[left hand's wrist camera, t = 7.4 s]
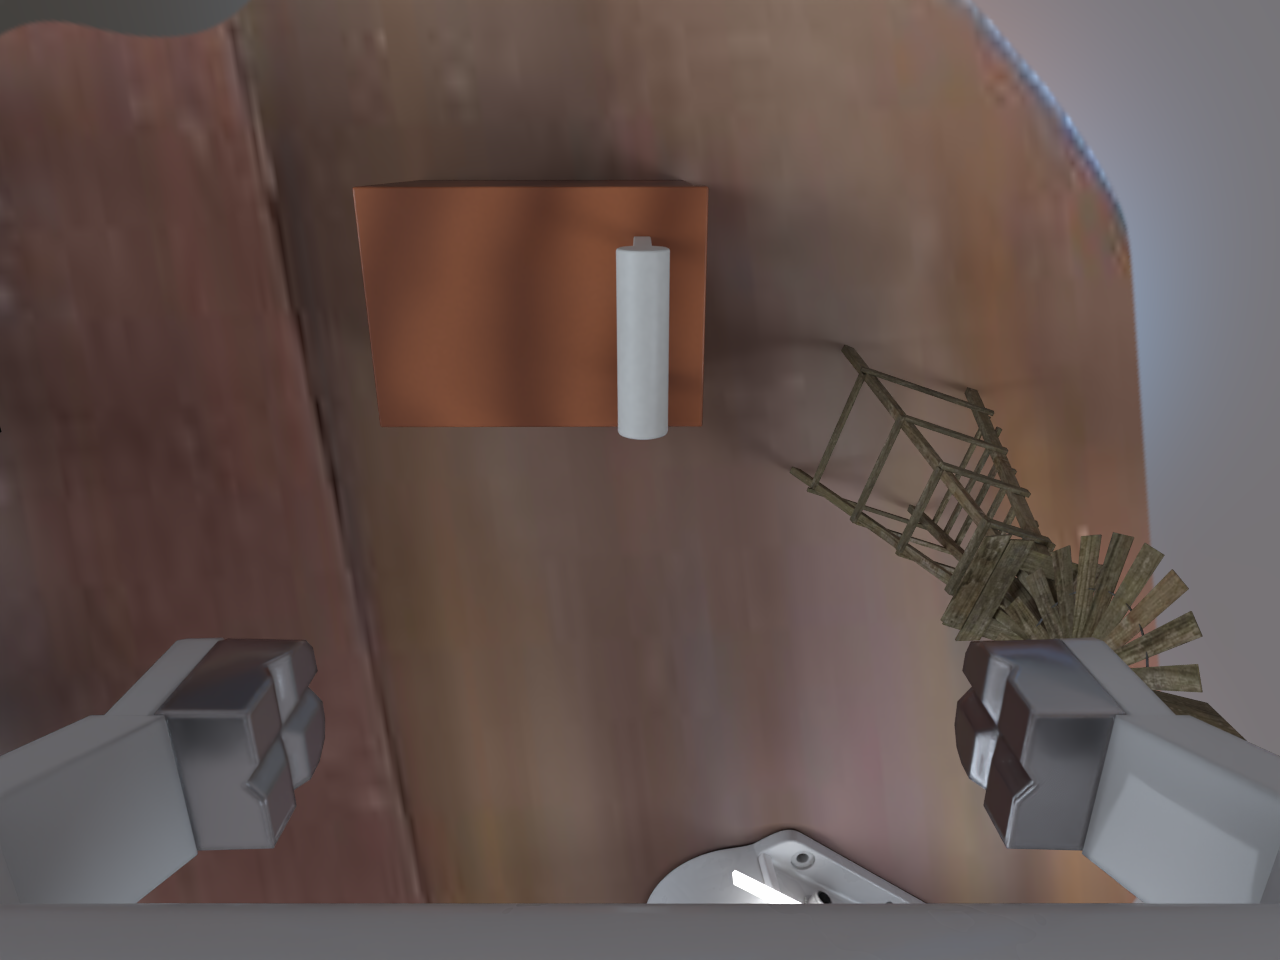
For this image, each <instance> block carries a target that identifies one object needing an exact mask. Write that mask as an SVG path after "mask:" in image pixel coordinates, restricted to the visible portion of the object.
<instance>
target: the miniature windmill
mask: <svg viewBox="0 0 1280 960" xmlns="http://www.w3.org/2000/svg"><path fill="white" fill-rule="evenodd" d="M841 351H842V352H843V354H844V355H845V356H846V357H847V359H848V360H849V361H850V363H851V364H852V365H853V367H854V368H855V369H856V370H857V372H858V373H859V375H858V378H857V380H856V382H855V385H854V387H853V389H852V391H851V394H850V396H849V398H848V400H847V403H846V405H845V407H844V410H843V412H842V414H841V416H840V419H839V421H838V423H837V426H836V428H835V430H834V432H833V435H832V437H831V439H830V441H829V444H828V446H827V448H826V451H825V453H824V455H823V457H822V460H821V462H820V464H819V466H818V469H817V471H816V473H815V476H814V478H812V477H811V476H809V475H808V474H806V473H805V472H804V471H802V470H801V469H798V468H795V467H792V468H791V471H790V473H791V474H792V475H794V476H795V477H797V478H798V479H799V480H801V481H802V482H804V483H805V484H806V485H808V486H809V487H811V488H809V487H808V489H807V492H810V493H813V494H816V495H819V496H823V497H825V498H826V499H827V500H829V501H830V502H832V503H833V504H834V505H836V506H837V507H839V508H840V509H841V510H843V511H844V512H846V513H847V514H848V515H850V516H851V518H850V520H851V522H852V523H855V524H856V525H860V526H863V527H866V528H868V529H869V530H871V531H872V532H874V533H875V534H877V535H878V536H879V537H881V538H882V539H884V540H885V541H886V542H888V543H889V544H891V545H892V546H893V547H895V549H896V550H897V551H896V553H895V554H897V555H898V556H900V557H903V558H906V559H909V560H912V561H914V562H916V563H917V564H919V565H920V566H921V567H923V568H924V569H926V570H927V571H928V572H930V573H931V574H933V575H934V576H935V577H937V578H938V579H940V580H941V581H942V582H944V583H945V584H947V585H946V587H945V589H944V590H945V591H946V592H947V593H948V594H949V595H954V596H953V598H952V599H951V601H950V603H949V605H948V607H947V609H946V611H945V613H944V615H943V616H942V618H941V621H942V622H943V625H946V626H949V627H953V628H956V629H959V630H960V631H959V633H958V635H957V637H956V639H955V640H956V641H973V640H980V639H981V637H985V638H988V639H992V640H995V641H998V640H1038V639H1068V638H1096V639H1099V640H1101V641H1104V642H1105V643H1106V644H1107V645H1108V646H1109V647H1110V648H1111V649H1112V650H1113V651H1114V652H1115V653H1116V654H1117V655H1118V656H1119V657H1120V658H1121V659H1122V660H1123V661H1124V662H1125V663H1126V664H1127V665H1131V664H1133V663H1136V662H1138V661H1141V660H1144V659H1146V667H1143V668H1130V669H1131V670H1132V671H1133V672H1134V673H1135V674H1136V675H1137V676H1138V677H1139V678H1140V679H1141V680H1142V681H1143V682H1144V683H1145V684H1146V685H1147V686H1148V687H1149V688H1150V689H1151V690H1152V691H1153V692H1154V693H1155V694H1156V695H1157V696H1158V697H1159V698H1160V699H1161V700H1162V701H1163V702H1164V703H1165V704H1166V705H1167V707H1168V708H1169V709H1170V710H1171V711H1172V712H1173V713H1174V714H1175V715H1190V716H1192V717H1194V718H1197V719H1199V720H1201V721H1203V722H1205V723H1208V724H1210V725H1212V726H1214V727H1217V728H1219V729H1221V730H1223V731H1225V732H1228V733H1230V734H1232V735H1234V736H1236V737H1239V738H1241V739H1243V740H1245V739H1244V738H1243V737H1242V736H1241V735H1240V734H1239V733H1238V732H1237V731H1236V730H1235V729H1234V728H1233V727H1232V726H1231V725H1230V724H1229V723H1228V722H1227V721H1226V720H1225V719H1224V718H1222V717H1221V716H1220V715H1219V714H1218V713H1217V712H1216V711H1215V710H1214V709H1213V708H1212V707H1211V706H1210V705H1209V704H1208V703H1205V702H1201V701H1197V700H1193V699H1189V698H1185V697H1181V696H1177V695H1172V694H1168V693H1164V692H1160V691H1156V690H1167V691H1186V692H1202V686H1201V679H1200V673H1199V667H1198V664H1191V665H1175V666H1159V667H1149V664H1148V658H1149V657H1151V656H1154V655H1156V654H1159V653H1161V652H1164V651H1167V650H1169V649H1172V648H1174V647H1177V646H1179V645H1182V644H1184V643H1187V642H1190V641H1192V640H1195V639H1197V638H1200V637H1202V634H1201V631H1200V629H1199V627H1198V624H1197V622H1196V620H1195V617H1194V615H1193V613H1192V611H1190V612H1188V613H1186V614H1184V615H1182V616H1180V617H1178V618H1176V619H1174V620H1172V621H1170V622H1168V623H1167V624H1165V625H1163V626H1161V627H1159V628H1157V629H1155V630H1153V631H1151V632H1149V633H1147V634H1145V635H1144V633H1143V628H1144V627H1146V626H1147V625H1148V624H1149V623H1150V622H1151V621H1152V620H1154V619H1155V618H1156V617H1157V616H1158V615H1159V614H1160V613H1162V612H1163V611H1164V610H1165V609H1166V608H1167V607H1168V606H1170V605H1171V604H1172V603H1173V602H1174V601H1175V600H1177V599H1178V598H1179V597H1180V596H1181V595H1182V594H1184V593H1185V592H1186V591H1187V590H1188V589H1189V588H1188V587H1187V586H1186V585H1185V583H1184V582H1183V581H1182V580H1181V579H1180V577H1179V576H1178V575H1177V574H1176V573H1175V571H1174V570H1173V569H1172V570H1171V571H1170V572H1169V573H1168V574H1167V575H1166V576H1165V577H1164V578H1163V579H1162V580H1161V581H1160V582H1159V583H1158V584H1157V585H1156V586H1155V587H1154V588H1153V589H1152V590H1151V591H1150V592H1149V593H1148V594H1147V595H1146V596H1145V597H1144V598H1143V599H1142V600H1141V602H1140V603H1139V604H1138V605H1137V606H1136V607H1135V608H1134V609H1133V610H1132V609H1131V605H1132V604H1133V602H1134V601H1135V599H1136V598H1137V596H1138V595H1139V593H1140V592H1141V590H1142V589H1143V587H1144V586H1145V584H1146V583H1147V581H1148V579H1149V578H1150V576H1151V575H1152V573H1153V572H1154V570H1155V569H1156V567H1157V566H1158V564H1159V563H1160V561H1161V560H1162V558H1163V557H1164V554H1162V553H1160V552H1159V551H1157V550H1156V549H1154V548H1153V547H1151V546H1149V545H1148V544H1146V543H1144V545H1143V547H1142V548H1141V550H1140V552H1139V554H1138V555H1137V557H1136V559H1135V561H1134V562H1133V564H1132V566H1131V568H1130V569H1129V571H1128V573H1127V575H1126V576H1125V578H1124V580H1123V582H1122V583H1121V585H1120V587H1119V589H1118V590H1117V592H1116V594H1114V590H1115V588H1116V585H1117V582H1118V580H1119V577H1120V574H1121V572H1122V569H1123V566H1124V563H1125V561H1126V558H1127V555H1128V553H1129V550H1130V547H1131V545H1132V542H1133V539H1134V537H1131V536H1127V535H1122V534H1118V533H1114V532H1113V534H1112V538H1111V541H1110V544H1109V547H1108V551H1107V554H1106V557H1105V560H1104V564H1103V565H1100V564H1098V557H1099V550H1100V543H1101V536H1102V535H1090V536H1081V543H1080V554H1079V564H1075V563H1072V560H1071V548H1070V545H1069V546H1066V547H1064V548H1061V549H1059V550H1056V551H1054V552H1052V551H1053V550H1054V548H1055V546H1056V545H1055V544H1054V543H1052V542H1051V540H1050V539H1049V538H1048V537H1045V536H1042V535H1041V533H1040V531H1039V529H1038V527H1039V525H1038V522H1037V521H1035V520H1034V518H1033V515H1032V513H1031V511H1030V509H1029V506H1028V504H1027V502H1026V499H1025V497H1028V498H1029V496H1030V495H1031V493H1030V492H1029V491H1028V490H1027V489H1024V488H1021V487H1020V486H1019V484H1018V481H1017V479H1016V477H1015V474H1016V472H1017V471H1016V470H1015V469H1013V468H1011V466H1010V463H1009V461H1008V459H1007V457H1006V454H1007V453H1008V449H1007V448H1005V447H1002V445H1001V443H1000V441H999V438H998V437H999V435H1000V433H1001V431H1002V429H1001V428H999V427H996V429H994V427H993V425H992V423H991V420H990V418H991V417H989V416H988V415H991V416H993V414H994V411H993V410H990V409H987V408H985V407H984V404H983V402H982V400H981V398H980V395H979V393H978V391H977V390H974V389H971V388H968V387H967V389H966V391H965V396H966V398H967V400H968V402H966V401H963V400H960V399H958V398H955V397H952V396H949V395H946V394H943V393H940V392H937V391H934V390H931V389H928V388H925V387H922V386H919V385H917V384H914V383H911V382H908V381H905V380H902V379H899V378H896V377H893V376H890V375H887V374H884V373H881V372H878V371H876V370H873V369H870V368H869V367H868V366H867V365H866V363H865V362H864V361H863V360H862V358H861V357H860V356H859V354H858V353H857V352H856V351H855V349H854V348H852V347H849V346H847V345H844V347H843V349H842V350H841ZM877 377H879V378H882V379H885V380H888V381H891V382H894V383H897V384H900V385H903V386H906V387H908V388H911V389H914V390H917V391H920V392H923V393H926V394H929V395H932V396H935V397H938V398H941V399H944V400H947V401H950V402H953V403H955V404H958V405H961V406H964V407H967V408H970V409H971V410H972V412H973V415H974V417H975V420H976V422H977V424H978V427H979V429H978V431H977V433H976V435H975V437H974V438H973V437H970V436H967V435H964V434H962V433H959V432H956V431H953V430H950V429H947V428H944V427H941V426H938V425H935V424H932V423H929V422H926V421H923V420H920V419H917V418H914V417H911V416H908V415H906V414H905V413H904V411H903V410H902V409H901V408H900V406H899V405H898V404H897V402H896V401H895V400H894V399H893V397H892V396H891V395H890V394H889V392H888V391H887V390H886V389H885V387H884V386H883V385H882V384H881V382H880V381H879V380H878V378H877ZM863 381H865V382H866V383H867V385H868V386H869V387H870V388H871V390H872V391H873V392H874V394H875V395H876V396H877V397H878V399H879V400H880V401H881V403H882V404H883V405H884V406H885V408H886V409H887V410H888V412H889V413H890V414H891V415H892V417H893V418H894V419H895V423H894V425H893V427H892V430H891V432H890V434H889V436H888V438H887V440H886V443H885V445H884V447H883V449H882V451H881V453H880V455H879V458H878V460H877V462H876V464H875V466H874V468H873V471H872V473H871V475H870V477H869V479H868V481H867V483H866V486H865V488H864V490H863V492H862V494H861V496H860V498H859V501H858V503H856V502H853V501H850V500H846V499H843V498H841V497H840V496H838V495H837V494H836V493H834V492H833V491H831V490H830V489H828V488H827V487H825V486H824V485H822V484H821V483H820V482H819V481H820V479H821V476H822V474H823V472H824V470H825V467H826V465H827V463H828V460H829V458H830V456H831V454H832V451H833V449H834V447H835V445H836V442H837V440H838V438H839V436H840V433H841V431H842V429H843V427H844V424H845V422H846V420H847V418H848V415H849V413H850V411H851V409H852V406H853V404H854V402H855V400H856V397H857V395H858V393H859V390H860V388H861V386H862V384H863ZM914 424H915V425H918V426H921V427H924V428H927V429H930V430H933V431H936V432H939V433H942V434H945V435H948V436H951V437H954V438H957V439H960V440H963V441H966V442H969V443H971V445H970V447H969V449H968V451H967V453H966V455H965V457H964V459H963V461H962V463H961V465H960V467H957V466H954V465H951V464H948V463H945V462H943V461H942V459H941V458H940V457H939V455H938V454H937V453H936V452H935V450H934V449H933V448H932V447H931V445H930V444H929V443H928V442H927V440H926V439H925V438H924V437H923V435H922V434H921V433H920V431H919V430H918V429H917V428H916V426H915V425H914ZM901 428H902V430H903V431H904V432H905V433H906V435H907V436H908V437H909V439H910V440H911V441H912V443H913V444H914V445H915V446H916V448H917V449H918V450H919V452H920V453H921V454H922V455H923V457H924V458H925V459H926V461H927V462H928V463H929V464H930V466H931V467H932V468H933V470H934V471H933V473H932V475H931V477H930V479H929V481H928V483H927V485H926V487H925V489H924V491H923V493H922V495H921V497H920V499H919V501H918V503H917V505H916V507H915V506H912V505H909V508H908V510H907V511H908V512H909V513H910V514H911V518H910V520H909V519H906V518H903V517H899V516H896V515H893V514H890V513H887V512H884V511H881V510H878V509H874V508H871V507H868V506H865V504H866V502H867V499H868V497H869V495H870V493H871V491H872V489H873V487H874V484H875V482H876V480H877V478H878V476H879V474H880V472H881V470H882V467H883V465H884V463H885V461H886V459H887V457H888V455H889V453H890V450H891V448H892V446H893V444H894V442H895V440H896V438H897V435H898V433H899V431H900V429H901ZM981 436H983V439H984V441H982V440H980V438H981ZM977 445H978V446H981V447H984V448H986V449H985V451H984V453H983V455H982V457H981V458H980V460H979V462H978V464H977V466H976V468H975V470H974V472H972V471H969V470H966V469H965V467H966V465H967V463H968V461H969V459H970V457H971V455H972V453H973V451H974V449H975V448H976V446H977ZM989 454H990V455H991V458H992V460H993V463H994V465H993V467H992V469H991V470H990V472H989V474H988V476H984V475H981V474H980V472H981V470H982V468H983V466H984V464H985V462H986V460H987V458H988V456H989ZM997 472H998V475H999V477H1000V479H1001V481H999V480H996V479H994V477H995V475H996V473H997ZM953 473H955V474H956V475H955V476H954V474H953ZM961 476H964V477H967V478H970V480H969V482H968V484H967V486H966V488H964V487H963V486H962V485H961V483H960V482H959V479H960V477H961ZM940 479H941V480H942V481H943V482H944V484H945V485H946V486H947V488H948V490H947V492H946V494H945V496H944V498H943V500H942V502H941V504H940V506H939V508H938V510H937V512H936V514H935V516H934V518H933V520H932V519H930V518H929V517H928V516H927V515H926V514H925V513H924V510H925V508H926V506H927V504H928V502H929V500H930V498H931V496H932V494H933V492H934V490H935V488H936V486H937V484H938V482H939V480H940ZM976 480H977V481H980V482H983V483H984V484H983V486H982V488H981V490H980V492H979V494H978V496H977V498H976V500H975V501H974V500H973V498H972V497H971V496H970V495H969V493H970V491H971V489H972V487H973V486H974V484H975V482H976ZM990 485H992V486H995V487H998V488H1000V490H999V492H998V494H997V496H996V498H995V500H994V501H993V503H992V505H991V507H990V509H989V511H988V513H987V515H985V514H984V512H983V511H982V510H981V509H980V505H981V503H982V501H983V499H984V497H985V495H986V493H987V491H988V489H989V487H990ZM952 494H953V495H954V497H955V498H956V499H957V500H958V503H957V505H956V507H955V509H954V511H953V513H952V515H951V517H950V519H949V521H948V523H947V525H946V527H945V529H944V531H943V530H942V529H941V528H940V527H939V526H938V525H937V523H938V521H939V519H940V517H941V515H942V513H943V511H944V509H945V507H946V505H947V503H948V501H949V499H950V497H951V495H952ZM1005 494H1007V496H1008V498H1009V501H1010V503H1011V508H1010V510H1009V512H1008V514H1007V516H1006V518H1005V520H1004V522H1003V523H1002V522H999V521H996V520H993V517H994V515H995V513H996V511H997V509H998V507H999V505H1000V503H1001V501H1002V499H1003V497H1004V496H1005ZM962 507H963V508H964V509H965V511H966V512H967V513H968V516H967V518H966V520H965V522H964V524H963V526H962V528H961V530H960V532H959V534H958V536H957V538H956V540H955V541H954V540H953V539H952V538H951V537H950V536H948V534H949V532H950V530H951V528H952V526H953V524H954V522H955V521H956V519H957V517H958V515H959V513H960V511H961V509H962ZM862 510H866V511H869V512H873V513H876V514H879V515H882V516H885V517H888V518H891V519H894V520H898V521H901V522H904V523H907V526H906V528H905V530H904V532H903V534H902V533H898V532H895V531H892V530H889V529H886V528H885V527H883V526H882V525H881V524H879V523H878V522H876V521H875V520H873V519H872V518H870V517H869V516H867V515H866V514H865V513H863V512H862ZM1015 516H1016V518H1017V520H1018V522H1019V525H1020V527H1021V528H1018V527H1015V526H1011V523H1012V521H1013V519H1014V517H1015ZM972 520H973V521H974V522H975V524H976V525H977V526H978V527H977V528H976V530H975V532H974V534H973V536H972V538H971V540H970V542H969V544H968V546H967V547H966V549H965V551H964V550H963V549H962V548H961V547H960V544H961V542H962V540H963V538H964V536H965V534H966V532H967V530H968V528H969V526H970V524H971V522H972ZM918 522H919V523H918ZM916 527H919V528H923V529H926V530H928V531H929V532H930V533H931V534H932V535H933V536H934V537H935V538H936V539H937V540H938V541H939V543H941V544H942V545H943V546H944V547H942V546H939V545H936V544H933V543H930V542H927V541H924V540H920V539H917V538H914V537H911V536H912V534H913V532H914V530H915V528H916ZM998 530H999V531H998ZM1006 533H1009V534H1006ZM1011 534H1012V535H1015V536H1018V537H1021V538H1022V540H1021V539H1010V538H1011V536H1012V535H1011ZM982 540H983V541H982ZM909 541H910V542H913V543H916V544H919V545H923V546H926V547H929V548H932V549H935V550H938V551H941V552H945V553H948V554H951V555H953V556H954V557H955V558H956V559H957V560H958V561H959V563H958V565H957V566H956V568H954V567H951V566H948V565H944V564H941V563H938V562H935V561H933V560H931V559H930V558H928V557H927V556H926V555H924V554H923V553H921V552H920V551H918V550H917V549H915V548H914V547H913V546H911V545H910V544H908V542H909ZM981 542H982V543H981ZM980 544H981V545H980ZM979 546H980V547H979ZM978 548H979V549H978ZM977 550H978V551H977ZM976 552H977V553H976ZM1051 554H1052V556H1051ZM974 555H975V556H974ZM973 557H974V558H973ZM966 570H967V571H966ZM952 573H953V574H952ZM1015 576H1017V578H1016V577H1015ZM962 578H963V579H962ZM1094 591H1095V593H1094V596H1093V592H1094ZM1113 595H1114V597H1113V599H1112V601H1111V598H1112V596H1113ZM1110 601H1111V603H1110ZM1128 610H1130V611H1131V612H1130V613H1129V614H1128V615H1127V616H1126V617H1125V618H1124V619H1123V617H1124V616H1125V614H1126V613H1127V611H1128ZM1122 619H1123V620H1122ZM1121 620H1122V621H1121ZM1140 631H1141V634H1142V636H1141V637H1139V638H1137V639H1135V640H1133V641H1132V642H1130V643H1128V644H1126V643H1127V642H1128V641H1129V640H1131V639H1132V638H1133V637H1134V636H1135V635H1136V634H1137V633H1139V632H1140ZM1125 644H1126V645H1125ZM1245 741H1246V740H1245Z"/></svg>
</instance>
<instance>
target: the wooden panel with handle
mask: <svg viewBox="0 0 1280 960" xmlns="http://www.w3.org/2000/svg"><path fill="white" fill-rule="evenodd" d="M708 193H709V188H708V187H707V186H359V187H353V198H354V206H355V215H356V223H357V232H358V240H359V249H360V258H361V266H362V275H363V283H364V292H365V300H366V309H367V317H368V326H369V334H370V343H371V351H372V360H373V368H374V377H375V385H376V394H377V402H378V411H379V419H380V426H381V427H618V432H619V434H620V435H621V436H623V437H626V438H630V439H638V440H647V439H655V438H659V437H662V436H664V435H666V434H667V432H668V426H702V419H703V381H704V344H705V306H706V268H707V230H708Z"/></svg>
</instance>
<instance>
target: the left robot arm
mask: <svg viewBox="0 0 1280 960" xmlns="http://www.w3.org/2000/svg"><path fill="white" fill-rule="evenodd" d="M317 671H318V670H317V665H316V660H315V655H314V650H313V647H312V646H311V645H310V644H309V643H308V642H307V641H306V640H282V639H232V638H228V639H223V638H187V639H182V640H177V641H176V642H175V643H174V644H173V645H172V646H171V647H170V648H169V649H168V650H167V651H166V652H165V653H164V654H163V655H162V656H161V657H160V659H159V660H158V661H157V662H156V663H155V664H154V665H153V666H152V667H151V668H150V669H149V670H148V671H147V672H146V673H145V674H144V675H143V676H142V677H141V678H140V679H139V680H138V681H137V682H136V683H135V684H134V685H133V686H132V687H131V688H130V689H129V690H128V691H127V692H126V693H125V694H124V695H123V696H122V697H121V698H120V699H119V700H118V701H117V702H116V704H115V705H114V706H113V707H112V708H111V709H110V710H109V711H108V712H107V713H106V714H105V715H90V716H88V717H86V718H83V719H81V720H79V721H77V722H75V723H72V724H70V725H68V726H66V727H63V728H61V729H59V730H57V731H55V732H52V733H50V734H48V735H46V736H43V737H41V738H39V739H37V740H35V741H32V742H30V743H28V744H26V745H24V746H21V747H19V748H17V749H15V750H12V751H10V752H8V753H6V754H4V755H1V756H0V960H1280V756H1278V755H1276V754H1274V753H1272V752H1270V751H1267V750H1265V749H1263V748H1261V747H1258V746H1256V745H1254V744H1252V743H1250V742H1247V741H1245V740H1243V739H1241V738H1239V737H1236V736H1234V735H1232V734H1230V733H1228V732H1225V731H1223V730H1221V729H1219V728H1217V727H1214V726H1212V725H1210V724H1208V723H1205V722H1203V721H1201V720H1199V719H1197V718H1194V717H1192V716H1190V715H1175V714H1174V713H1173V712H1172V711H1171V710H1170V709H1169V708H1168V707H1167V705H1166V704H1165V703H1164V702H1163V701H1162V700H1161V699H1160V698H1159V697H1158V696H1157V695H1156V694H1155V693H1154V692H1153V691H1152V690H1151V689H1150V688H1149V687H1148V686H1147V685H1146V684H1145V683H1144V682H1143V681H1142V680H1141V679H1140V678H1139V677H1138V676H1137V675H1136V674H1135V673H1134V672H1133V671H1132V670H1131V669H1130V668H1129V667H1128V665H1127V664H1126V663H1125V662H1124V661H1123V660H1122V659H1121V658H1120V657H1119V656H1118V655H1117V654H1116V653H1115V652H1114V651H1113V650H1112V649H1111V648H1110V647H1109V646H1108V645H1107V644H1106V643H1105V642H1104V641H1101V640H1099V639H1096V638H1068V639H1038V640H998V641H971V642H970V645H969V647H968V649H967V651H966V653H965V659H964V665H963V670H962V671H963V673H964V674H965V676H966V677H967V679H968V681H969V682H970V684H971V686H972V687H971V688H970V689H969V690H968V691H967V692H966V693H965V694H964V695H963V696H962V697H961V698H960V699H959V701H958V702H957V709H956V718H955V735H956V746H957V750H958V754H959V757H960V760H961V764H962V766H963V767H964V769H965V771H966V773H967V775H968V777H969V779H970V780H972V781H973V782H975V783H976V784H978V785H979V786H981V787H982V788H984V789H985V790H986V794H985V800H984V807H985V809H986V811H987V813H988V815H989V817H990V818H991V820H992V822H993V824H994V826H995V828H996V830H997V831H998V833H999V835H1000V837H1001V839H1002V841H1003V842H1004V844H1005V846H1006V848H1013V849H1049V850H1083V852H1082V854H1083V855H1084V856H1086V857H1087V858H1088V859H1089V860H1091V861H1092V862H1093V863H1094V864H1096V865H1097V866H1098V867H1099V868H1101V869H1102V870H1103V871H1104V872H1106V873H1107V874H1108V875H1110V876H1111V877H1112V878H1113V879H1115V880H1116V881H1117V882H1118V883H1120V884H1121V885H1122V886H1123V887H1125V888H1126V889H1127V890H1128V891H1130V892H1131V893H1132V894H1133V895H1135V896H1136V897H1137V898H1139V899H1140V900H1141V901H1142V902H1144V903H928V904H926V903H924V902H923V901H921V900H919V899H917V898H916V897H914V896H912V895H910V894H909V893H907V892H905V891H903V890H901V889H900V888H898V887H896V886H894V885H893V884H891V883H889V882H887V881H885V880H884V879H882V878H880V877H878V876H877V875H875V874H873V873H871V872H869V871H868V870H866V869H864V868H862V867H861V866H859V865H857V864H855V863H853V862H852V861H850V860H848V859H846V858H845V857H843V856H841V855H839V854H837V853H836V852H834V851H832V850H830V849H829V848H827V847H825V846H823V845H821V844H820V843H818V842H816V841H814V840H813V839H811V838H809V837H807V836H806V835H804V834H802V833H800V832H798V831H795V830H783V831H779V832H777V833H774V834H772V835H770V836H768V837H766V838H764V839H762V840H760V841H758V842H756V843H754V844H751V845H747V846H743V847H736V848H729V849H723V850H718V851H714V852H710V853H707V854H704V855H701V856H698V857H696V858H693V859H691V860H689V861H687V862H685V863H683V864H682V865H680V866H679V867H677V868H676V869H674V870H673V871H671V872H670V873H669V874H668V875H667V876H666V877H665V878H664V879H662V880H661V882H660V883H659V884H658V885H657V886H656V888H655V889H654V891H653V892H652V894H651V895H650V897H649V899H648V902H647V904H407V903H137V902H138V901H139V900H140V899H142V898H143V897H144V896H146V895H147V894H148V893H149V892H151V891H152V890H153V889H154V888H156V887H157V886H158V885H159V884H161V883H162V882H163V881H164V880H166V879H167V878H168V877H170V876H171V875H172V874H173V873H175V872H176V871H177V870H178V869H180V868H181V867H182V866H183V865H185V864H186V863H187V862H189V861H190V860H191V859H192V858H194V857H195V856H196V855H197V854H198V852H197V850H230V849H265V848H274V846H275V844H276V843H277V841H278V839H279V837H280V835H281V833H282V831H283V830H284V828H285V826H286V824H287V822H288V820H289V819H290V817H291V815H292V813H293V811H294V809H295V807H296V800H295V794H294V790H295V789H296V788H298V787H299V786H301V785H302V784H304V783H305V782H307V781H308V780H310V779H311V777H312V775H313V773H314V771H315V769H316V767H317V765H318V763H319V761H320V757H321V753H322V748H323V744H324V739H325V715H324V708H323V702H322V701H321V699H320V698H319V697H318V696H317V695H316V694H315V693H314V692H313V691H312V690H311V689H310V688H309V687H308V686H309V684H310V682H311V681H312V679H313V677H314V676H315V674H316V673H317ZM799 854H803V855H799Z"/></svg>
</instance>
